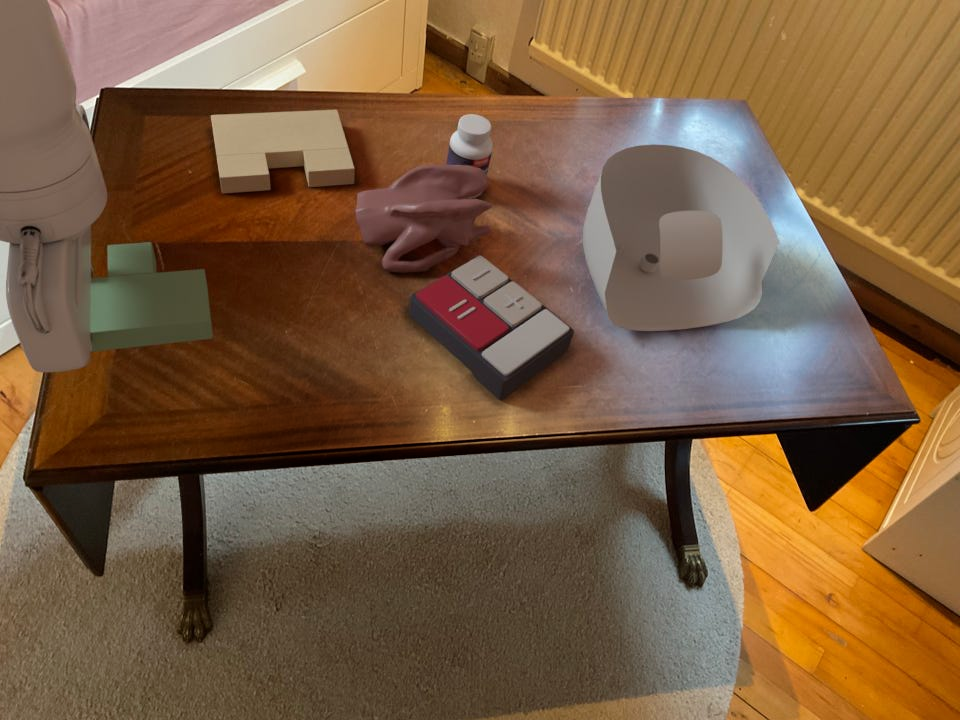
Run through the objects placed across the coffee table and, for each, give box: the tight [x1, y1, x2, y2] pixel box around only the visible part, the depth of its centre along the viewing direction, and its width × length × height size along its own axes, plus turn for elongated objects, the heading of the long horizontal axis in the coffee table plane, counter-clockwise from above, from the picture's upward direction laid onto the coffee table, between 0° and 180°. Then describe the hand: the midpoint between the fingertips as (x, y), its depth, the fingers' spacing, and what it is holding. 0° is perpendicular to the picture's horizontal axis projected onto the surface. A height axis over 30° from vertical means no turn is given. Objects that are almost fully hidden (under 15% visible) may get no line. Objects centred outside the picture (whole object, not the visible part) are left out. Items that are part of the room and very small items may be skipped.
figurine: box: [354, 163, 494, 274], centre depth 87 cm, size 12×10×15 cm
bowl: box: [582, 143, 780, 332], centre depth 88 cm, size 20×19×12 cm
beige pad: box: [210, 109, 356, 194], centre depth 94 cm, size 16×12×2 cm
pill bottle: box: [445, 113, 494, 199], centre depth 93 cm, size 5×5×10 cm
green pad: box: [90, 241, 214, 353], centre depth 64 cm, size 12×10×2 cm
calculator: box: [408, 255, 575, 401], centre depth 81 cm, size 11×4×15 cm
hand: (82, 311), depth 62 cm, fingers closed on green pad, 6 cm apart
